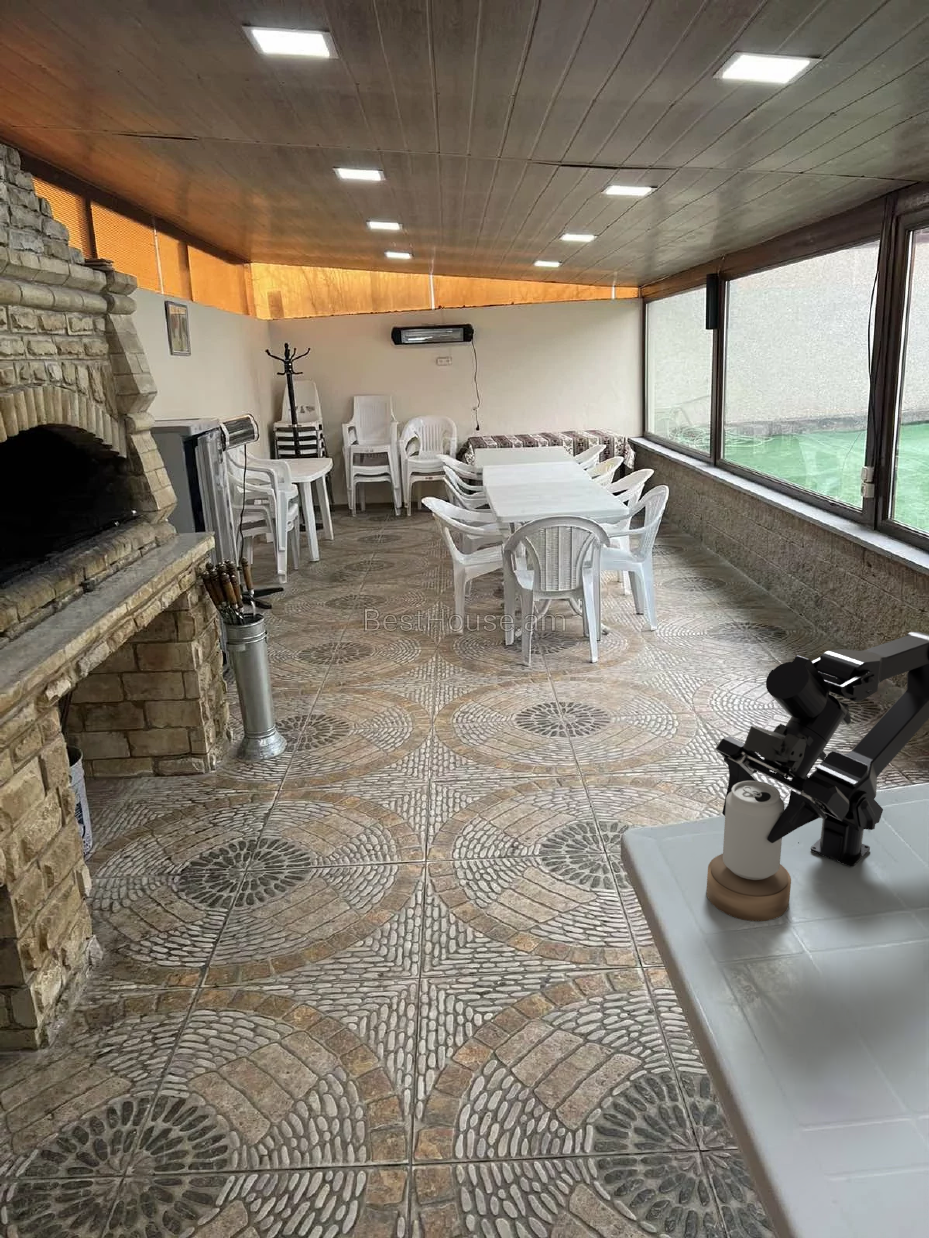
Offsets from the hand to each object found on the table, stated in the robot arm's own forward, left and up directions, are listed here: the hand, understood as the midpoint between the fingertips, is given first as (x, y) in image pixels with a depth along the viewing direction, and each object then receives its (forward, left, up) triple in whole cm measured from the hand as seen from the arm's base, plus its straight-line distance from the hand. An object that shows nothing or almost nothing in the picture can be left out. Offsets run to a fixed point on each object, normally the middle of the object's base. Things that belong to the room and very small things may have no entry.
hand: (746, 828), depth 116 cm
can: (-1, 0, -7) cm, 7 cm away
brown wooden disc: (-1, 0, -11) cm, 11 cm away
